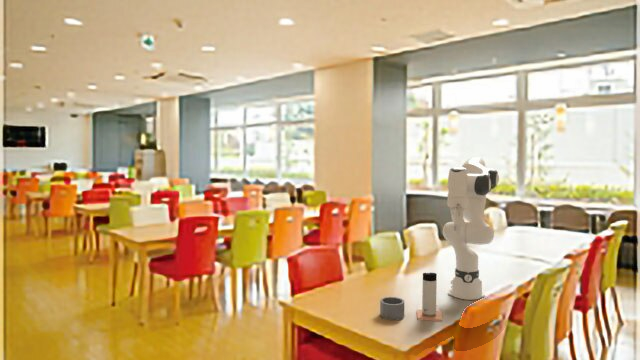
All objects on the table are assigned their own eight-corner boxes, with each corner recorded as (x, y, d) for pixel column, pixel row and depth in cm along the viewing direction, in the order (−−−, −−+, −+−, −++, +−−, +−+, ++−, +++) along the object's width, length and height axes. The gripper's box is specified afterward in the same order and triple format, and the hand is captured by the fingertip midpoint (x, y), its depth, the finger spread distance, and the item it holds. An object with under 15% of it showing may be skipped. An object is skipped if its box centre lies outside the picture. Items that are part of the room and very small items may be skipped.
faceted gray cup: (381, 310, 221) (381, 296, 220) (404, 312, 219) (404, 297, 218) (379, 318, 210) (379, 304, 210) (403, 320, 208) (404, 305, 207)
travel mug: (424, 317, 209) (425, 274, 208) (420, 312, 216) (421, 270, 214) (438, 317, 210) (438, 274, 208) (433, 311, 216) (434, 270, 215)
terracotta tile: (417, 311, 220) (417, 309, 220) (441, 312, 218) (441, 311, 217) (417, 319, 209) (417, 317, 209) (442, 321, 207) (442, 319, 207)
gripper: (467, 205, 200) (466, 237, 201) (462, 200, 220) (461, 228, 221) (452, 205, 201) (451, 236, 202) (448, 200, 221) (448, 228, 222)
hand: (456, 232), depth 211 cm, fingers open, 8 cm apart
